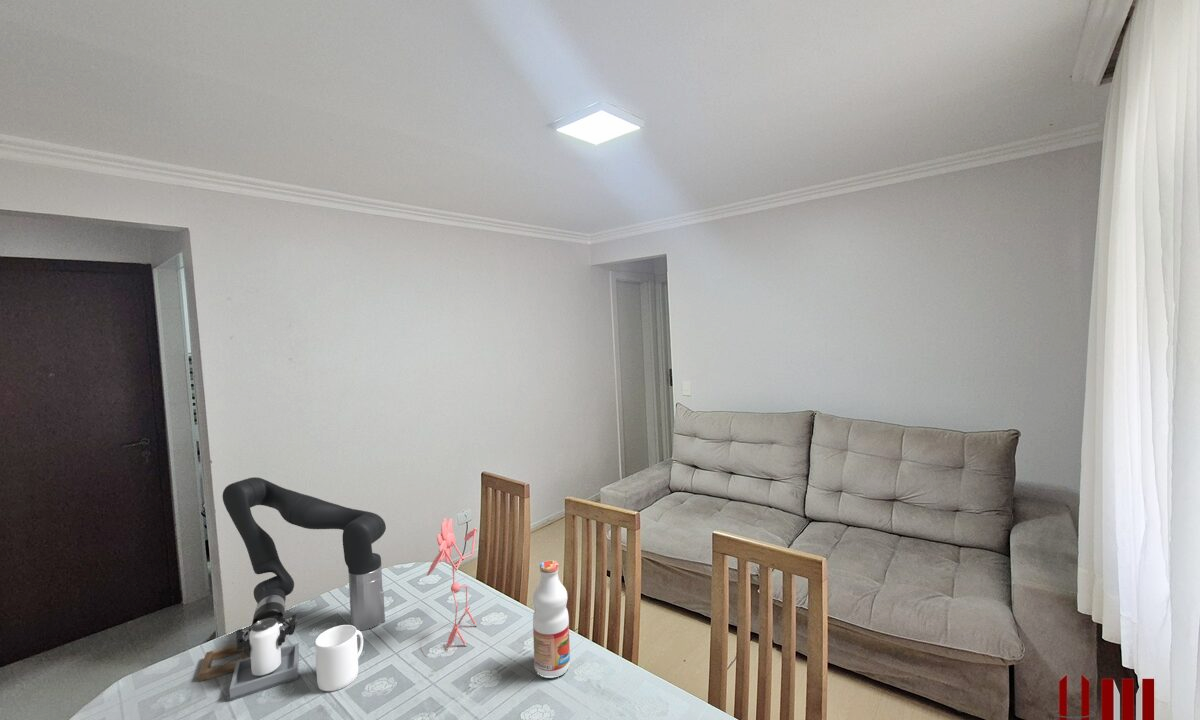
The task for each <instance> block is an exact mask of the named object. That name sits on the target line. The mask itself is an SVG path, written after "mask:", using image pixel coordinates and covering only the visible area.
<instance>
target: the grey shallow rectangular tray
mask: <svg viewBox="0 0 1200 720" xmlns="http://www.w3.org/2000/svg"><path fill="white" fill-rule="evenodd" d="M299 645H300V644H299V642H297V643H294V644H291V645H288V646H283V647H281V664H280V666H279V667H278V668H277V669H276V670H275V671H273V672H272V673H269V674H267V675H263V676H255V675H253V674H252V670H251V656H250V657H249V658H246V659H242V660H239V659H238V660H239V661H237V662H236V666H235V670H234V671H233V674H232V678H231V682H230V686H229V700H230V702H232V701H234V700H237V699H241V698H244V697H247V696H250V695H253V694H256V693H260V692H263V691H265V690H268V689H273V688H274V687H278V686H281V685H283V684H287V683H290V682H293V681H296V680H298V678H299V664H300V662H299V661H300V646H299Z"/></svg>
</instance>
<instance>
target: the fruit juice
mask: <svg viewBox="0 0 1200 720" xmlns="http://www.w3.org/2000/svg"><path fill="white" fill-rule="evenodd" d="M559 568H560V565H559V563H558V561H556V560H552V559H550V560H545V561H542V562H541V563H540V564H539V573H541V576H540V580H539V584H537V585H538V586H536V588H535V590H534V592H533V594H532V605H533V608H534V611H533V615H532V631H533V632H532V633H533V635H532V636H533V663H534V664H533V665H534V671H535V670H536V671H537V672H538V673H539V674H541V675H543V676H557V675H559V674H561V673H563V672H565V671H566V670H567V669H568V667H569V668H570V666H569V665H571V664H570V662H571V653H570V651H571V650H570V617H569V611H568V608H567V603H568V591H567V588H566V587H565V585H563V584H562V583H561V580H560V577H559V575H558V573H559ZM568 670H569V669H568ZM536 671H535V672H536Z"/></svg>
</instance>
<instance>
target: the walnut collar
mask: <svg viewBox="0 0 1200 720" xmlns="http://www.w3.org/2000/svg"><path fill="white" fill-rule="evenodd" d="M237 654H241V657H240V658H239V659H236V660H232V661H229V662H225V663H222V664H218V665H216V666H215V665H214V666H212V664H213V661H216V660H220V659H224V658H226V657H230V656H233V655H237ZM249 657H251V656H250V655H246V654H243V648H242V649H239V650H237V643H236V644H232V645H228V646H225V647H221V648H217V649H214V650H211V651H208V652H207V651H206V653H205V655H204V658H203V661H202V664H201V667H200V670H199V672H198V682H199V683H201V682H203V681H206V680H210V679H213V678H216V677H219V676H223V675H226V674H230V673H232V672H233V673H234V670H235V666H236V662H237V661H239V660H242V659H246V658H249Z"/></svg>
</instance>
